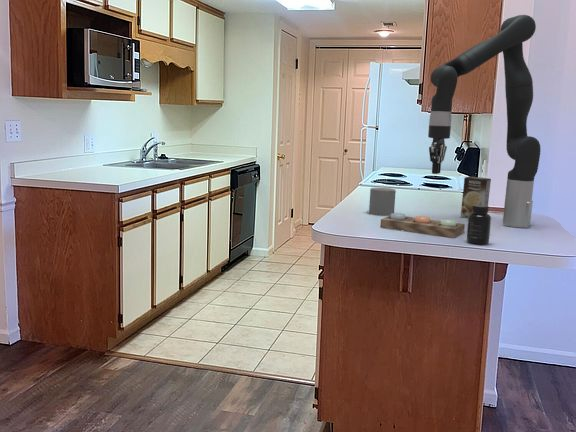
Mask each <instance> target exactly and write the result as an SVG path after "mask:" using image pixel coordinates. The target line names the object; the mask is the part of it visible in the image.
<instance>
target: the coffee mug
mask: <svg viewBox="0 0 576 432" xmlns="http://www.w3.org/2000/svg"><path fill="white" fill-rule="evenodd" d="M396 191H397V189H395V188H391V187H380V186H379V187H377V186H375V187H371V188H370V190H369V206H368V214H369V215H372V216H378V217H379V216H380V217H389V216H391V213H395V207H396V206H395V205H396V193H397V192H396Z"/></svg>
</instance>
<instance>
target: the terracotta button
mask: <svg viewBox="0 0 576 432" xmlns="http://www.w3.org/2000/svg"><path fill="white" fill-rule="evenodd" d="M430 220H431V217H430V216H425V215H424V216H423V215H416V216H415V222H418V223H426V224H428V223H430Z"/></svg>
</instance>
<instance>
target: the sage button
mask: <svg viewBox="0 0 576 432" xmlns="http://www.w3.org/2000/svg"><path fill="white" fill-rule="evenodd" d="M440 221H441V226H448V227H456V223H457V220H455V219H449V218H448V219H447V218H443V219H441V220H440Z"/></svg>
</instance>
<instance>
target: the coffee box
mask: <svg viewBox="0 0 576 432" xmlns="http://www.w3.org/2000/svg"><path fill="white" fill-rule="evenodd" d="M491 182H492V180H491V178H487V177H478V176H477V177H476V176H470V175H469V176H465V177H464V178H463V190H462V199H461V208H460V218H465V219H468V217H469V215H470V214H471V213H473V211H472V208H473V205H486V206H489V202H490V201H489V200H490V190H491V184H492V183H491Z"/></svg>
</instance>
